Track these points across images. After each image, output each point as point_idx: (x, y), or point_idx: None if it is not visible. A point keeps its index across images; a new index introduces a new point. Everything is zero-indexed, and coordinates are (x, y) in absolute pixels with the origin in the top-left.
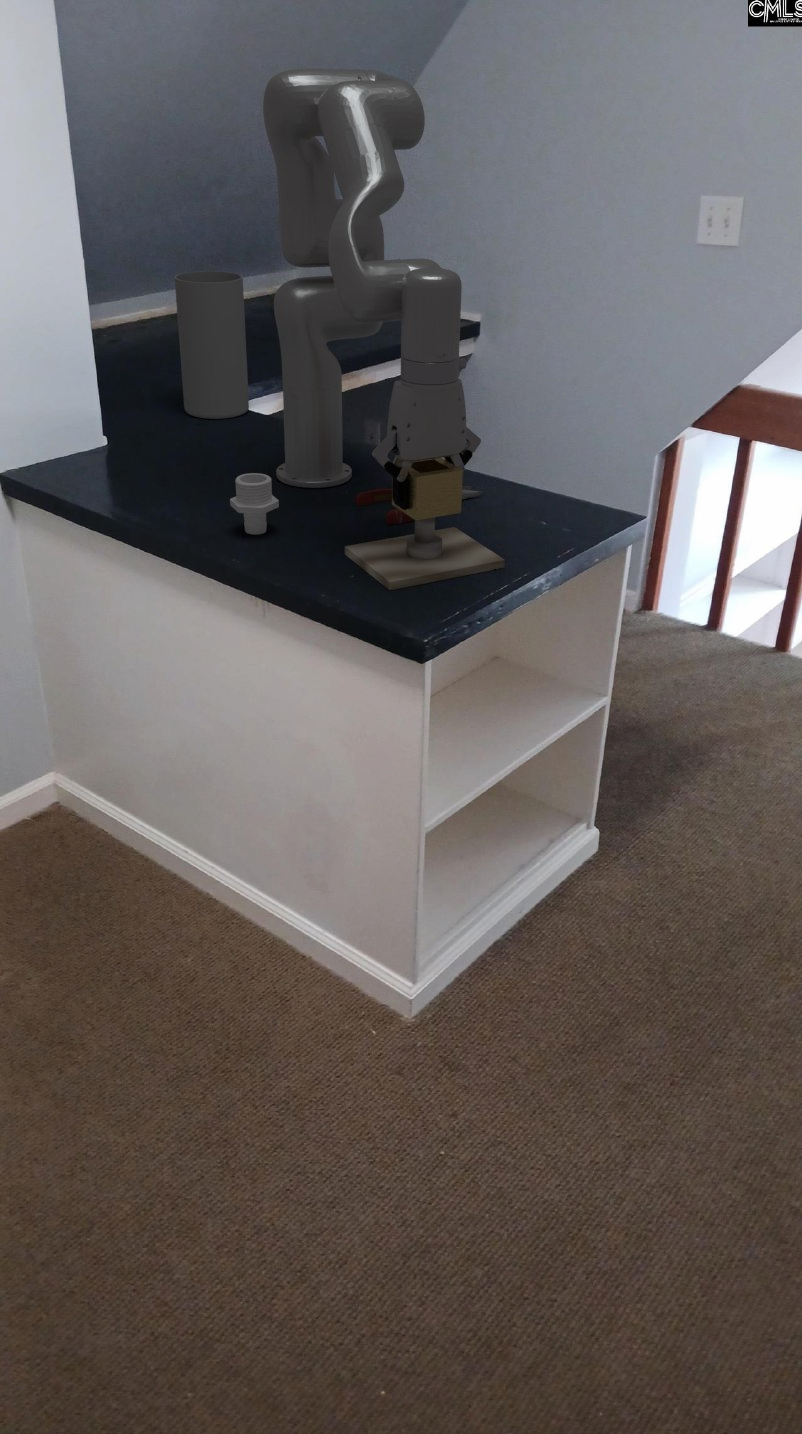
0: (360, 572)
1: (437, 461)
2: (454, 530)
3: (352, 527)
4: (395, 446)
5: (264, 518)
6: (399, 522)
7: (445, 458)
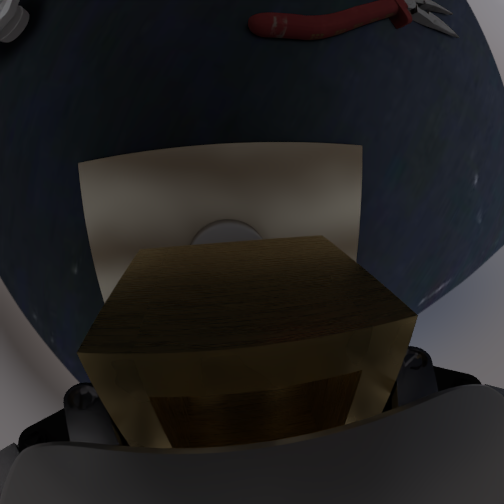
0: (90, 259)
1: (353, 397)
2: (352, 163)
3: (166, 21)
4: (61, 469)
5: (6, 27)
6: (275, 37)
7: (393, 400)
